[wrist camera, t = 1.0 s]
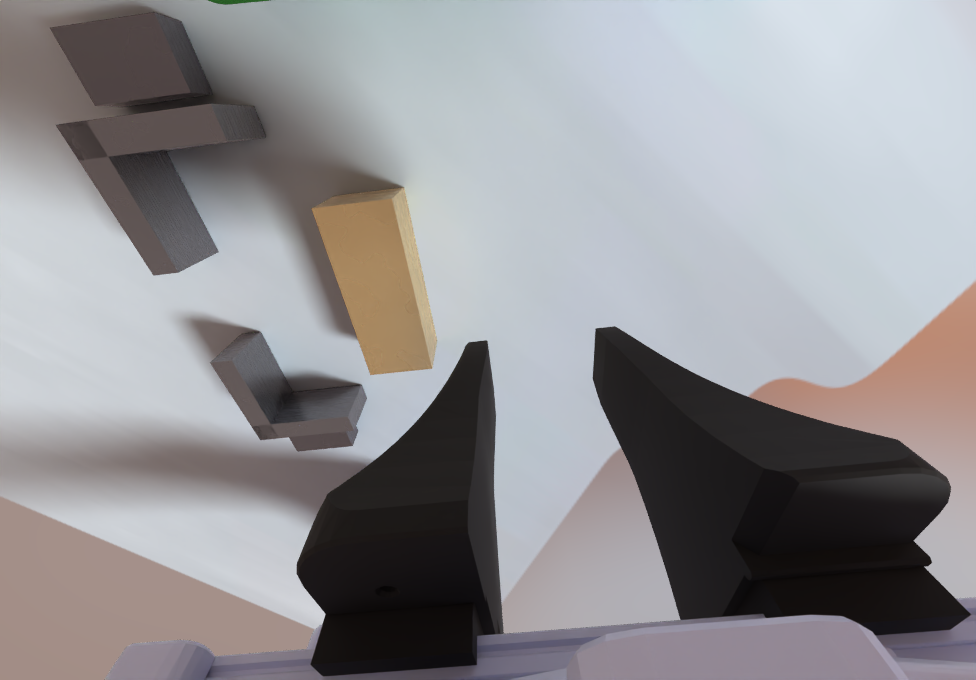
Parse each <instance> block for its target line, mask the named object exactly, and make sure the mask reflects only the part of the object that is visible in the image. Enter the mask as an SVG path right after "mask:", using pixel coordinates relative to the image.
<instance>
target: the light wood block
mask: <svg viewBox="0 0 976 680" xmlns="http://www.w3.org/2000/svg"><path fill="white" fill-rule="evenodd" d="M311 209H312V212H313V215H314V217H315V220H316V223H317V226H318V229H319V231H320V234H321V237H322V240H323V243H324V245H325V248H326V251H327V254H328V257H329V260H330V262H331V265H332V268H333V271H334V274H335V276H336V279H337V282H338V285H339V288H340V290H341V293H342V296H343V299H344V302H345V304H346V307H347V310H348V313H349V316H350V319H351V321H352V324H353V327H354V330H355V333H356V335H357V338H358V341H359V344H360V347H361V349H362V352H363V355H364V358H365V361H366V364H367V366H368V369H369V372H370V375H374V374H384V373H394V372H403V371H413V370H423V369H432V367H433V361H434V356H435V350H436V344H437V338H436V333H435V328H434V324H433V319H432V314H431V310H430V305H429V301H428V296H427V291H426V287H425V282H424V277H423V273H422V268H421V264H420V259H419V254H418V250H417V245H416V240H415V236H414V231H413V226H412V222H411V217H410V213H409V208H408V203H407V199H406V194H405V189H404V187H403V188H395V189H386V190H378V191H370V192H361V193H353V194H345V195H336V196H333V197H331V198H330V199H328V200H326V201H324V202H322V203H320V204H318V205H317V206H315V207H313V208H311Z"/></svg>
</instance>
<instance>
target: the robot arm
mask: <svg viewBox="0 0 976 680" xmlns="http://www.w3.org/2000/svg"><path fill="white" fill-rule="evenodd" d="M593 381H594V384H595V388H596V391H597V394H598V397H599V400H600V403H601V406H602V408H603V410H604V412H605V414H606V416H607V419H608V421H609V423H610V425H611V427H612V429H613V431H614V433H615V435H616V437H617V439H618V441H619V444H620V446H621V448H622V450H623V452H624V454H625V456H626V458H627V460H628V462H629V464H630V467H631V469H632V471H633V474H634V476H635V479H636V482H637V484H638V487H639V490H640V493H641V496H642V499H643V501H644V503H645V507H646V510H647V513H648V516H649V519H650V522H651V524H652V528H653V531H654V533H655V537H656V540H657V543H658V546H659V549H660V552H661V556H662V559H663V562H664V565H665V568H666V571H667V575H668V578H669V581H670V585H671V588H672V592H673V595H674V599H675V602H676V606H677V609H678V613H679V616H680V619H681V620H676V621H663V622H650V623H637V624H624V625H611V626H598V627H586V628H572V629H559V630H548V631H534V632H522V633H509V634H504V633H503V619H502V606H501V592H500V577H499V563H498V548H497V532H496V517H495V500H494V454H495V426H496V411H495V398H494V387H493V380H492V372H491V365H490V357H489V350H488V342H487V341H477V342H469V343H468V344H467V345H466V346H465V349H464V351H463V353H462V356H461V358H460V360H459V361H458V363H457V365H456V367H455V369H454V370H453V372H452V374H451V376H450V377H449V379H448V381H447V382H446V384H445V385H444V387H443V388H442V390H441V391H440V392H439V394H438V395H437V397H436V398H435V400H434V401H433V402H432V404H431V405H430V406H429V407H428V409H427V410H426V411H425V412H424V413H423V415H422V416H421V417H420V418H419V419H418V420H417V422H416V423H415V424H414V425H413V426H412V427H411V428H410V429H409V430H408V431H407V432H406V433H405V434H404V435H403V436H402V437H401V438H400V439H399V440H398V441H397V442H396V443H395V444H393V445H392V446H391V447H390V448H389V449H388V450H387V451H385V452H384V453H383V454H382V455H381V456H379V457H378V458H377V459H376V460H374V461H373V462H372V463H371V464H369V465H368V466H367V467H365V468H364V469H363V470H362V471H360V472H359V473H357V474H356V475H354V476H353V477H352V478H350V479H349V480H347V481H346V482H344V483H343V484H342V485H340V486H339V487H337V488H336V489H334V490H333V491H331V492H330V493H328V494H327V496H326V499H325V501H324V503H323V504H322V506H321V508H320V510H319V512H318V514H317V516H316V518H315V521H314V523H313V525H312V528H311V530H310V532H309V535H308V537H307V540H306V542H305V545H304V547H303V550H302V552H301V555H300V557H299V560H298V562H297V575H298V577H299V579H300V581H301V583H302V584H303V586H304V588H305V589H306V590H307V591H308V593H309V594H310V595H311V596H312V598H313V599H314V600H315V601H316V603H317V604H318V605H319V606H320V607H321V609H322V610H323V611H324V612H325V614H326V615H325V618H324V621H323V624H322V625H320V626H319V627H317V628H316V629H315V630H314V631H313V633H312V636H311V638H310V641H309V644H308V647H307V649H302V650H288V651H275V652H262V653H249V654H237V655H224V656H214V654H213V653H212V651H211V650H210V649H209V648H207V647H206V646H205V645H203V644H201V643H198V642H195V641H190V640H173V641H160V642H147V643H134V644H131V645H129V646H127V647H126V648H125V649H124V651H123V652H122V654H121V655H120V657H119V658H118V660H117V661H116V663H115V664H114V666H113V667H112V669H111V670H110V672H109V673H108V675H107V676H106V678H105V679H104V680H976V597H973V598H961V599H955V598H954V597H953V596H952V595H951V594H950V593H949V592H948V591H947V590H946V589H945V588H944V587H943V586H942V585H941V584H940V583H939V582H938V581H937V580H936V579H935V578H934V577H933V576H932V575H931V574H930V573H929V572H928V571H927V570H926V569H925V568H924V566H929V565H930V564H931V563H932V561H931V558H930V557H929V556H928V555H927V554H926V553H925V552H924V551H923V550H922V549H921V548H920V547H919V546H918V545H917V544H916V543H915V542H914V539H915V538H916V537H917V536H918V535H919V534H920V533H921V532H922V531H923V530H924V529H925V528H926V527H927V526H928V525H929V524H930V523H931V522H932V521H933V520H934V519H935V518H936V516H938V514H939V513H940V512H941V511H942V510H943V508H944V507H945V505H946V504H947V503H948V499H949V496H950V492H951V491H950V490H951V486H950V484H949V481H948V479H947V477H946V476H944V475H943V474H941V473H940V472H939V471H938V470H936V469H935V468H934V467H933V466H931V465H930V464H929V463H927V462H926V461H925V460H923V459H922V458H921V457H920V456H918V455H917V454H916V453H914V452H913V451H912V450H910V449H909V448H908V447H906V446H905V445H904V444H903V443H901V442H900V441H898V440H896V439H892V438H888V437H884V436H880V435H875V434H871V433H867V432H863V431H859V430H855V429H851V428H847V427H842V426H838V425H834V424H831V423H827V422H823V421H820V420H817V419H813V418H810V417H806V416H803V415H800V414H796V413H793V412H790V411H787V410H784V409H780V408H778V407H774V406H772V405H769V404H766V403H763V402H761V401H758V400H755V399H752V398H750V397H747V396H744V395H742V394H739V393H737V392H734V391H732V390H729V389H727V388H725V387H723V386H720V385H718V384H716V383H714V382H711V381H709V380H707V379H705V378H703V377H701V376H699V375H697V374H695V373H693V372H691V371H689V370H687V369H685V368H683V367H681V366H680V365H678V364H676V363H674V362H672V361H671V360H669V359H667V358H665V357H664V356H662V355H660V354H659V353H657V352H655V351H654V350H652V349H650V348H649V347H647V346H646V345H644V344H642V343H641V342H639V341H638V340H636V339H635V338H633V337H631V336H630V335H628V334H627V333H625V332H624V331H622V330H620V329H618V328H617V327H606V328H597V329H596V332H595V350H594V367H593Z"/></svg>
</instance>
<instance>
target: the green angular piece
mask: <svg viewBox="0 0 976 680" xmlns="http://www.w3.org/2000/svg"><path fill="white" fill-rule="evenodd" d="M208 1H211V2H214V3H218V4H238V3H248V2H258V1H269V0H208Z"/></svg>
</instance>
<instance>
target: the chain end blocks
mask: <svg viewBox="0 0 976 680" xmlns="http://www.w3.org/2000/svg"><path fill="white" fill-rule="evenodd" d="M50 29H51V31H52V33H53V34H54V36H55V38H56V39H57V41H58V43H59V45H60V46H61V48H62V50H63V51H64V53H65V55H66V56H67V58H68V60H69V62H70V63H71V65H72V67H73V68H74V70H75V72H76V74H77V75H78V77H79V79H80V80H81V82H82V84H83V86H84V87H85V89H86V91H87V92H88V94H89V96H90V98H91V99H92V101H93V103H94V104H95V106H118V107H126V106H134V105H141V104H148V103H155V102H162V101H170V100H177V99H184V98H191V97H198V96H206V95H213V93H212V91H211V89H210V86H209V84H208V82H207V79H206V77H205V75H204V72H203V70H202V68H201V66H200V63H199V61H198V59H197V56H196V54H195V52H194V49H193V47H192V45H191V42H190V40H189V38H188V35H187V33H186V31H185V28H184V26H183V24H182V21H179V20H176V19H173V18H170V17H167V16H164V15H161V14H158V13H155V12H153V13H146V14H139V15H133V16H126V17H119V18H112V19H106V20H99V21H92V22H86V23H79V24H72V25H65V26H59V27H52V28H50ZM56 126H57V128H58V129H59V131H60V132H61V134H62V135H63V137H64V138H65V140H66V141H67V143H68V144H69V146H70V148H71V149H72V151H73V152H74V154H75V155H76V157H77V158H78V160H79V161H80V163H81V165H82V166H83V168H84V169H85V171H86V172H87V174H88V175H89V177H90V178H91V180H92V181H93V183H94V185H95V186H96V188H97V189H98V191H99V192H100V194H101V195H102V197H103V198H104V200H105V201H106V203H107V205H108V206H109V208H110V209H111V211H112V212H113V214H114V215H115V217H116V218H117V220H118V221H119V223H120V225H121V226H122V228H123V229H124V231H125V232H126V234H127V235H128V237H129V238H130V240H131V241H132V243H133V245H134V246H135V248H136V249H137V251H138V252H139V254H140V255H141V257H142V258H143V260H144V262H145V263H146V265H147V266H148V268H149V269H150V271H151V272H152V274H153V275H162V274H170V273H178V272H180V271H182V270H184V269H186V268H188V267H190V266H192V265H194V264H196V263H198V262H200V261H202V260H204V259H206V258H208V257H210V256H212V255H214V254H216V253H217V252H218V250H217V248H216V246H215V244H214V242H213V240H212V238H211V236H210V234H209V233H208V231H207V229H206V227H205V225H204V223H203V221H202V219H201V217H200V215H199V214H198V212H197V210H196V208H195V206H194V204H193V202H192V200H191V198H190V196H189V195H188V193H187V191H186V189H185V187H184V185H183V183H182V181H181V179H180V177H179V176H178V174H177V172H176V170H175V168H174V166H173V164H172V162H171V160H170V158H169V157H168V155H167V153H166V151H168V150H176V149H183V148H191V147H198V146H206V145H213V144H221V143H228V142H236V141H243V140H251V139H258V138H266V136H265V133H264V131H263V128H262V125H261V123H260V120H259V118H258V115H257V112H256V110H255V107H254V106H242V105H225V104H204V105H197V106H190V107H182V108H175V109H168V110H161V111H153V112H146V113H139V114H132V115H124V116H117V117H110V118H103V119H95V120H88V121H81V122H74V123H66V124H59V125H56ZM210 363H211V365H212V366H213V368H214V369H215V371H216V372H217V374H218V375H219V377H220V379H221V380H222V382H223V383H224V385H225V386H226V388H227V389H228V391H229V392H230V394H231V395H232V397H233V399H234V400H235V402H236V403H237V405H238V406H239V408H240V409H241V411H242V412H243V414H244V415H245V417H246V419H247V420H248V422H249V423H250V425H251V426H252V428H253V429H254V431H255V432H256V434H257V436H258V437H259V439H260V440H266V439H276V438H286V437H289V438H290V440H291V441H292V443H293V445H294V447H295V448H296V450H297V451H307V450H317V449H327V448H337V447H347V446H353V443H354V441H355V438H356V436H357V433H358V430H357V427H356V425H357V422H358V420H359V417H360V415H361V412H362V409H363V407H364V404H365V402H366V399H367V397H366V395H365V392H364V389H363V387H362V385H356V386H347V387H337V388H328V389H318V390H309V391H299V392H292V390H291V388H290V386H289V385H288V383H287V381H286V379H285V377H284V375H283V373H282V371H281V369H280V367H279V366H278V364H277V362H276V360H275V358H274V356H273V354H272V352H271V350H270V348H269V347H268V345H267V343H266V341H265V339H264V337H263V335H262V333H261V332H255V333H246V334H241V335H240V336H239V337H238V338H237V339H236V340H235V341H233V342H232V343H231V344H230V345H229V346H228V347H227V348H226V349H225V350H224V351H223V352H221V353H220V354H219V355H218V356H217V357H216V358H215V359H214V360H213V361H212V362H210Z"/></svg>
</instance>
